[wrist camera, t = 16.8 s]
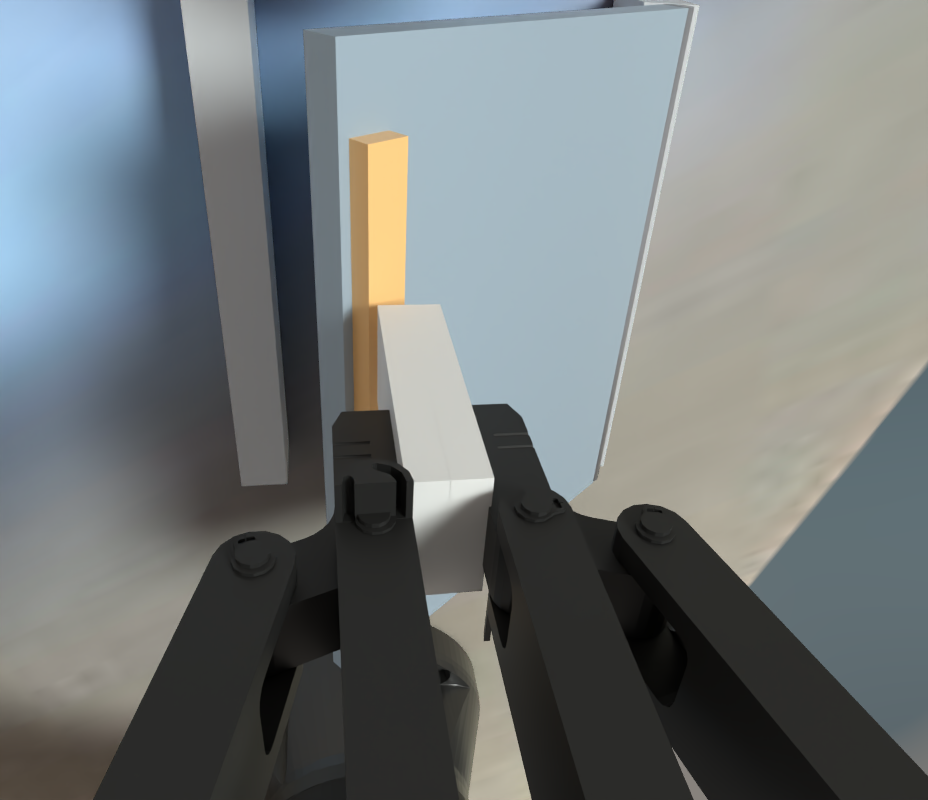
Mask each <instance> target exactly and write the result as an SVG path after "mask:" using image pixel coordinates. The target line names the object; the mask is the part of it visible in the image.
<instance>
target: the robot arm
mask: <svg viewBox="0 0 928 800" xmlns="http://www.w3.org/2000/svg"><path fill="white" fill-rule="evenodd" d="M377 403H378V410H370V411H345V412H341V413H340V415H339V416H338V418H337V419H336V421H335V422H334V424H333V425H332V445H333V472H334V500H335V508H334V514H333V516H332V518H331V520H330V522H329V523H328V524H327V525H326V526H325V527H324V528H323V529H322V530H320V531H318V532H317V533H315V534H314V535H312V536H309V537H307V538H305V539H302V540H299V541H296V542H293V543H290V542H289V541H288V540H286V539H285V538H283V537H282V536H280V535H278V534H274V533H270V532H266V531H260V532H247V533H244V534H241V535H238V536H234V537H233V538H231V539H229V540H228V541H226V542H225V543H223V544H222V545H220V547H219V548H218V549H217V550H216V552H215V553H214V554H213V556H212V558H211V560H210V562H209V564H208V566H207V568H206V570H205V572H204V574H203V576H202V578H201V580H200V582H199V584H198V586H197V588H196V590H195V592H194V594H193V596H192V598H191V601H190V603H189V605H188V607H187V609H186V611H185V613H184V615H183V617H182V619H181V621H180V623H179V625H178V627H177V629H176V631H175V633H174V635H173V637H172V639H171V641H170V644H169V646H168V648H167V650H166V652H165V654H164V656H163V658H162V660H161V662H160V664H159V666H158V668H157V670H156V672H155V674H154V676H153V678H152V680H151V682H150V684H149V686H148V689H147V691H146V693H145V695H144V697H143V699H142V701H141V703H140V705H139V707H138V709H137V711H136V713H135V715H134V717H133V719H132V721H131V723H130V725H129V727H128V729H127V732H126V734H125V736H124V738H123V740H122V742H121V744H120V746H119V748H118V750H117V752H116V754H115V756H114V758H113V760H112V762H111V764H110V766H109V768H108V770H107V772H106V774H105V777H104V779H103V781H102V783H101V785H100V787H99V789H98V791H97V793H96V795H95V797H94V799H93V800H468V793H469V786H470V779H471V772H472V764H473V757H474V750H475V743H476V735H477V728H478V721H479V712H480V705H479V695H478V690H477V685H476V680H475V675H474V670H473V666H472V663H471V661H470V659H469V657H468V655H467V654H466V652H465V651H464V650H463V648H462V647H461V646H460V645H459V644H458V643H457V642H456V641H455V640H454V639H452V638H451V637H449V636H448V635H447V634H445V633H443V632H442V631H440V630H438V629H436V628H434V627H431V625H430V619H429V613H428V607H427V601H426V595H436V594H448V593H460V592H472V591H482V586H483V577H484V573H485V577H486V581H487V585H488V589H489V593H488V602H487V610H486V618H485V627H484V641H490V635H491V631H492V635H493V640H494V644H495V648H496V652H497V656H498V660H499V665H500V669H501V673H502V677H503V681H504V685H505V690H506V694H507V698H508V702H509V706H510V711H511V715H512V719H513V723H514V727H515V731H516V736H517V740H518V744H519V748H520V752H521V756H522V761H523V765H524V769H525V773H526V777H527V781H528V786H529V790H530V794H531V798H532V800H693V797H692V795H691V792H690V790H689V788H688V785H687V783H686V781H685V778H684V776H683V773H682V771H681V769H680V766H679V764H678V761H677V759H676V757H675V754H674V752H673V750H672V748H673V749H674V751H675V752H676V754H677V755H678V757H679V758H680V760H681V761H682V762H683V764H684V765H685V767H686V768H687V770H688V771H689V773H690V774H691V775H692V777H693V778H694V780H695V781H696V783H697V784H698V786H699V787H700V789H701V790H702V792H703V793H704V794H705V796H706V797H707V799H708V800H928V776H927V775H926V774H925V773H924V772H923V770H922V769H921V768H920V767H919V766H918V765H917V764H916V763H915V762H914V761H913V760H912V759H911V758H910V757H909V756H908V755H907V754H906V753H905V752H904V750H903V749H902V748H901V747H900V746H899V745H898V744H897V743H896V742H895V741H894V740H893V739H892V738H891V737H890V736H889V735H888V734H887V733H886V731H885V730H884V729H883V728H882V727H881V726H880V725H879V724H878V723H877V722H876V721H875V720H874V719H873V718H872V717H871V716H870V715H869V714H868V713H867V712H866V710H865V709H864V708H863V707H862V706H861V705H860V704H859V703H858V702H857V701H856V700H855V699H854V698H853V697H852V696H851V695H850V694H849V693H848V692H847V690H846V689H845V688H844V687H843V686H842V685H841V684H840V683H839V682H838V681H837V680H836V679H835V678H834V677H833V676H832V675H831V674H830V673H829V671H828V670H827V669H825V667H824V666H823V665H822V664H821V663H820V662H819V661H818V660H817V659H816V658H815V657H814V656H813V655H812V654H811V653H810V651H809V650H808V649H807V648H806V647H805V646H804V645H803V644H802V643H801V642H800V641H799V640H798V639H797V638H796V637H795V636H794V635H793V633H791V631H790V630H789V629H788V628H787V627H786V626H785V625H784V624H783V623H782V622H781V621H780V620H779V619H778V618H777V617H776V616H775V615H774V614H773V612H772V611H771V610H770V609H769V608H768V607H767V606H766V605H765V604H764V603H763V602H762V601H761V600H760V599H759V598H758V597H757V596H756V594H754V592H753V591H752V590H751V589H750V588H749V587H748V586H747V585H746V584H745V583H744V582H743V581H742V580H741V579H740V578H739V577H738V576H737V574H736V573H735V572H734V571H733V570H732V569H731V568H730V567H729V566H728V565H727V564H726V563H725V562H724V561H723V560H722V559H721V558H720V557H719V555H718V554H717V553H716V552H715V551H714V550H713V549H712V548H711V547H710V546H709V545H708V544H707V543H706V542H705V541H704V540H703V539H702V538H701V537H700V535H699V534H698V533H697V532H696V531H695V530H694V529H693V528H692V527H691V526H690V525H689V524H688V523H687V522H686V521H685V520H684V519H683V518H681V517H680V516H679V515H678V514H676V513H675V512H673V511H671V510H668V509H666V508H664V507H661V506H655V505H649V504H642V505H633V506H631V507H629V508H627V509H625V510H623V511H622V513H621V514H620V515H619V517H618V519H617V522H614V521H608V520H603V519H597V518H592V517H588V516H584V515H581V514H578V513H576V512H574V511H573V510H572V508H571V506H570V505H569V503H568V502H567V501H566V499H565V498H564V497H562V496H561V495H559V494H558V493H556V492H555V491H553V490H551V488H550V485H549V483H548V481H547V478H546V476H545V473H544V471H543V468H542V466H541V463H540V461H539V458H538V456H537V453H536V451H535V448H533V443H532V441H531V438H530V436H529V435H528V431H527V428H526V426H525V423H524V421H523V418H522V416H521V415H519V414H518V413H517V412H516V411H515V410H514V409H513V408H512V407H510V406H509V405H508V404H507V403H506V404H481V405H472V404H471V401H470V398H469V395H468V392H467V388H466V385H465V382H464V379H463V376H462V372H461V369H460V366H459V363H458V360H457V356H456V353H455V350H454V347H453V344H452V340H451V337H450V334H449V331H448V328H447V324H446V321H445V318H444V315H443V312H442V308H441V305H440V304H424V305H378V308H377ZM337 650H340V654H341V668H340V667H339V666H338V665H337V664H335V663H334V662H333V652H335V651H337Z"/></svg>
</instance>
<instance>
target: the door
mask: <svg viewBox="0 0 928 800" xmlns="http://www.w3.org/2000/svg"><path fill="white" fill-rule="evenodd" d="M693 12H694V7H693V6H688V5H679V4H664V5H663V4H658V5H644V6H629V7H615V8H601V9H587V10H573V11H558V12H544V13H530V14H516V15H502V16H487V17H473V18H459V19H445V20H431V21H416V22H402V23H388V24H374V25H360V26H345V27H331V28H317V29H303V39H304V60H305V81H306V102H307V122H308V143H309V164H310V185H311V206H312V226H313V247H314V268H315V289H316V310H317V331H318V351H319V372H320V393H321V414H322V435H323V455H324V476H325V497H326V518H327V524H328V523H329V522H330V520H331V518H332V516H333V514H334V508H335V500H334V472H333V445H332V425H333V424H334V422H335V421H336V419H337V418H338V416H339V415H340V413H341V412H345V411H370V410H378V403H377V308H378V305H424V304H440V305H441V308H442V312H443V315H444V318H445V321H446V324H447V328H448V331H449V334H450V337H451V340H452V344H453V347H454V350H455V353H456V356H457V360H458V363H459V366H460V369H461V372H462V376H463V379H464V382H465V385H466V388H467V392H468V395H469V398H470V401H471V404H472V405H481V404H506V403H507V404H508V405H509V406H510V407H512V408H513V409H514V410H515V411H516V412H517V413H518V414H519V415H521V416H522V418H523V421H524V423H525V426H526V428H527V431H528V435H529V436H530V438H531V441H532V443H533V448H535V451H536V453H537V456H538V458H539V461H540V463H541V466H542V468H543V471H544V473H545V476H546V478H547V481H548V483H549V485H550V488H551V490H553V491H555V492H556V493H558V494H559V495H561V496H562V497H564V498H565V499H566V501H567V502H570V501H571V500H572V499H573V498H574V497H576V496H577V495H578V494H579V493H581V492H582V491H583V490H584V489H585V488H587V487H588V486H589V485H590V484H592V483H593V481H595V480H596V479H597V478H598V474H599V469H600V464H601V459H602V454H603V449H604V444H605V440H606V435H607V430H608V425H609V420H610V415H611V410H612V406H613V401H614V396H615V391H616V386H617V381H618V376H619V372H620V367H621V362H622V357H623V352H624V347H625V342H626V338H627V333H628V328H629V323H630V318H631V313H632V308H633V304H634V299H635V294H636V289H637V284H638V279H639V274H640V270H641V265H642V260H643V255H644V250H645V245H646V240H647V236H648V231H649V226H650V221H651V216H652V211H653V206H654V202H655V197H656V192H657V187H658V182H659V177H660V172H661V168H662V163H663V158H664V153H665V148H666V143H667V138H668V134H669V129H670V124H671V119H672V114H673V109H674V104H675V100H676V95H677V90H678V85H679V80H680V75H681V70H682V65H683V61H684V56H685V51H686V46H687V41H688V36H689V31H690V27H691V22H692V17H693ZM456 594H457V593H448V594H436V595H426V601H427V607H428V613H429V616H430V615H431V614H433V613H434V612H435V611H436V610H437V609H439V608H440V607H441V606H442V605H444V604H445V603H446V602H447V601H448V600H450V599H451V598H452V597H453V596H455V595H456ZM333 662H334V663H335V664H337V665H338V666H339V667H340V668H341V654H340V650H337V651H335V652H333Z"/></svg>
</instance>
